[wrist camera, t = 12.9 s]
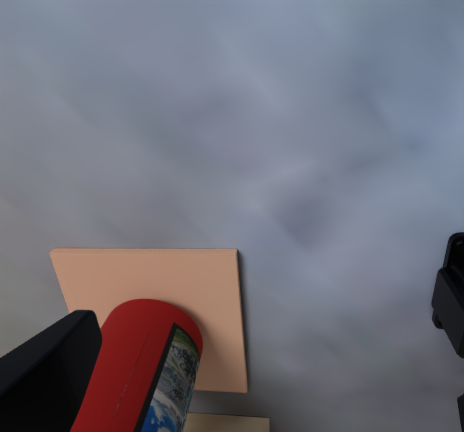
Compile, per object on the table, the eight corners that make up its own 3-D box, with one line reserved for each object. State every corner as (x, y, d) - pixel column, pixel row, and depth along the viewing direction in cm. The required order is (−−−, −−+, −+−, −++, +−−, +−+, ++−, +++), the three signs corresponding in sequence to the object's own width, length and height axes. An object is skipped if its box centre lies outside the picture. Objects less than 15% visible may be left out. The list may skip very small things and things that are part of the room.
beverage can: (193, 374, 28) (137, 595, 17) (104, 348, 28) (-8, 553, 17) (217, 307, 24) (165, 528, 14) (116, 277, 24) (-14, 476, 14)
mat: (237, 249, 23) (235, 254, 22) (247, 386, 28) (247, 392, 28) (54, 248, 25) (49, 253, 24) (96, 377, 30) (93, 384, 30)
